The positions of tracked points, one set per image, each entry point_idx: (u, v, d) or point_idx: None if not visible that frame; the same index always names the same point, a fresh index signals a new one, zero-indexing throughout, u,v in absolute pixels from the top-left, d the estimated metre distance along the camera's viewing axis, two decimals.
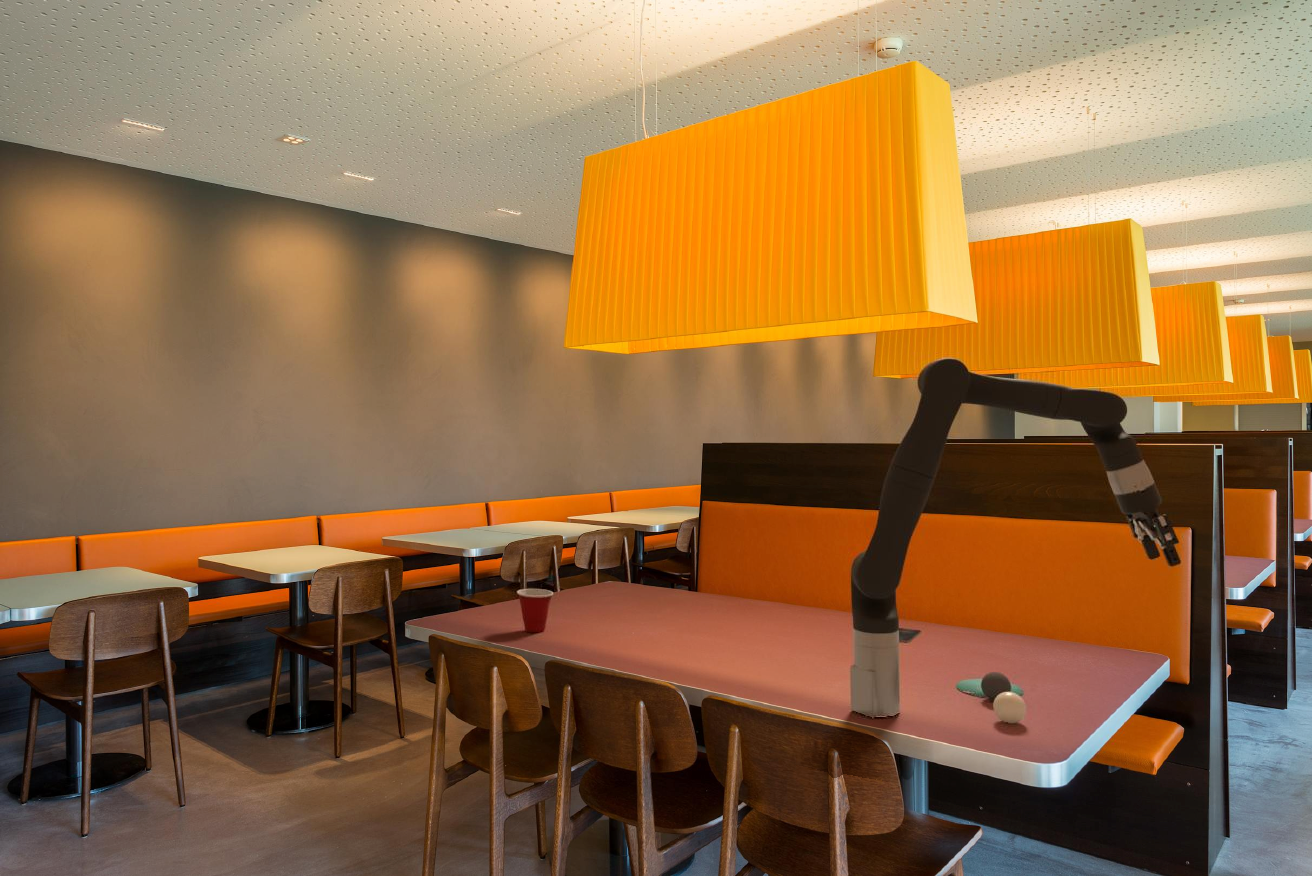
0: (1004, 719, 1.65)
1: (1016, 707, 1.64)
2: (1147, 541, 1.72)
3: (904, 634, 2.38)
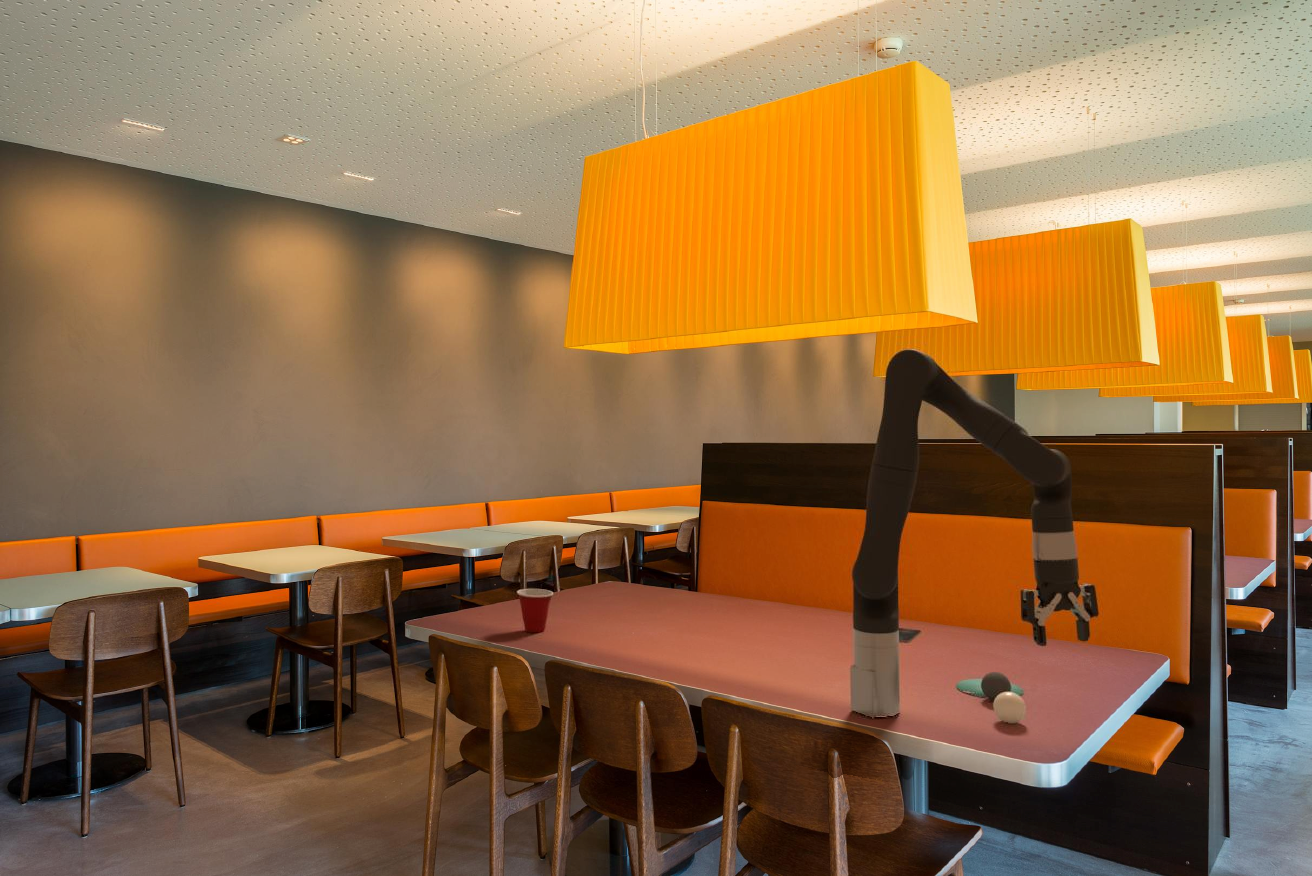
0: (1004, 719, 1.65)
1: (1016, 707, 1.64)
2: (1079, 620, 1.57)
3: (904, 634, 2.38)
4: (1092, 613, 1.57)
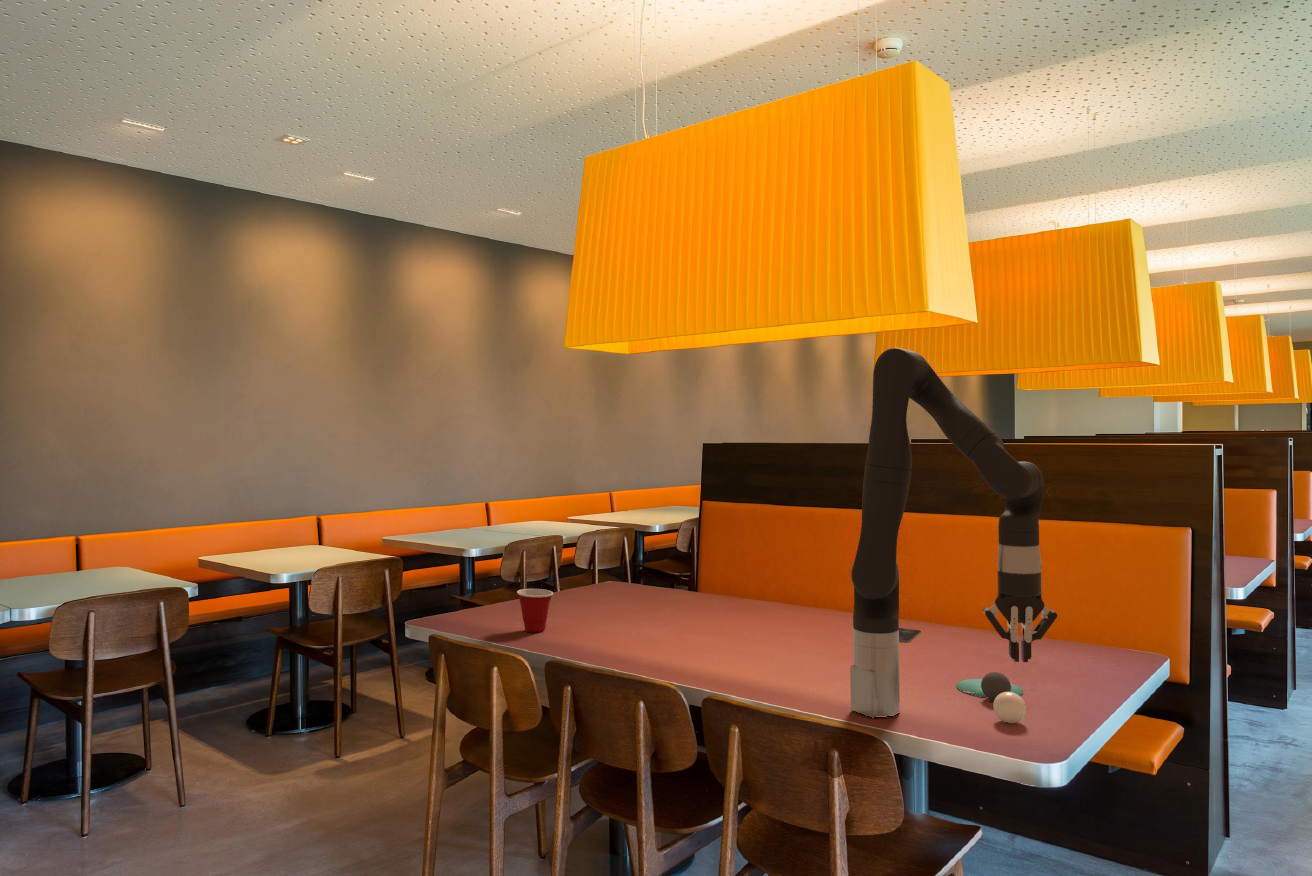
0: (1004, 719, 1.65)
1: (1016, 707, 1.64)
2: (1022, 641, 1.57)
3: (904, 634, 2.38)
4: (1035, 634, 1.55)
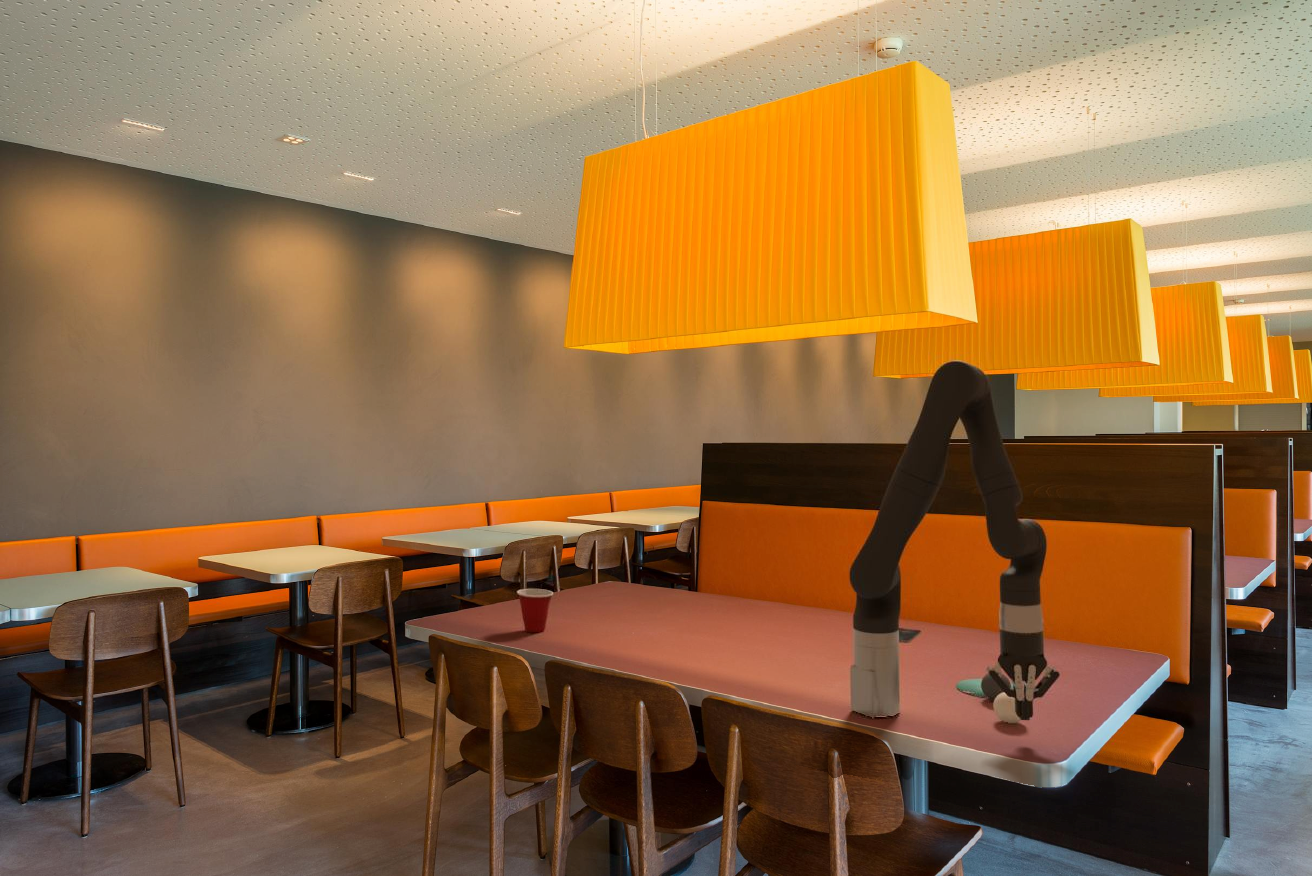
0: (1004, 719, 1.65)
1: None
2: (1024, 698, 1.57)
3: (904, 634, 2.38)
4: (1036, 692, 1.56)
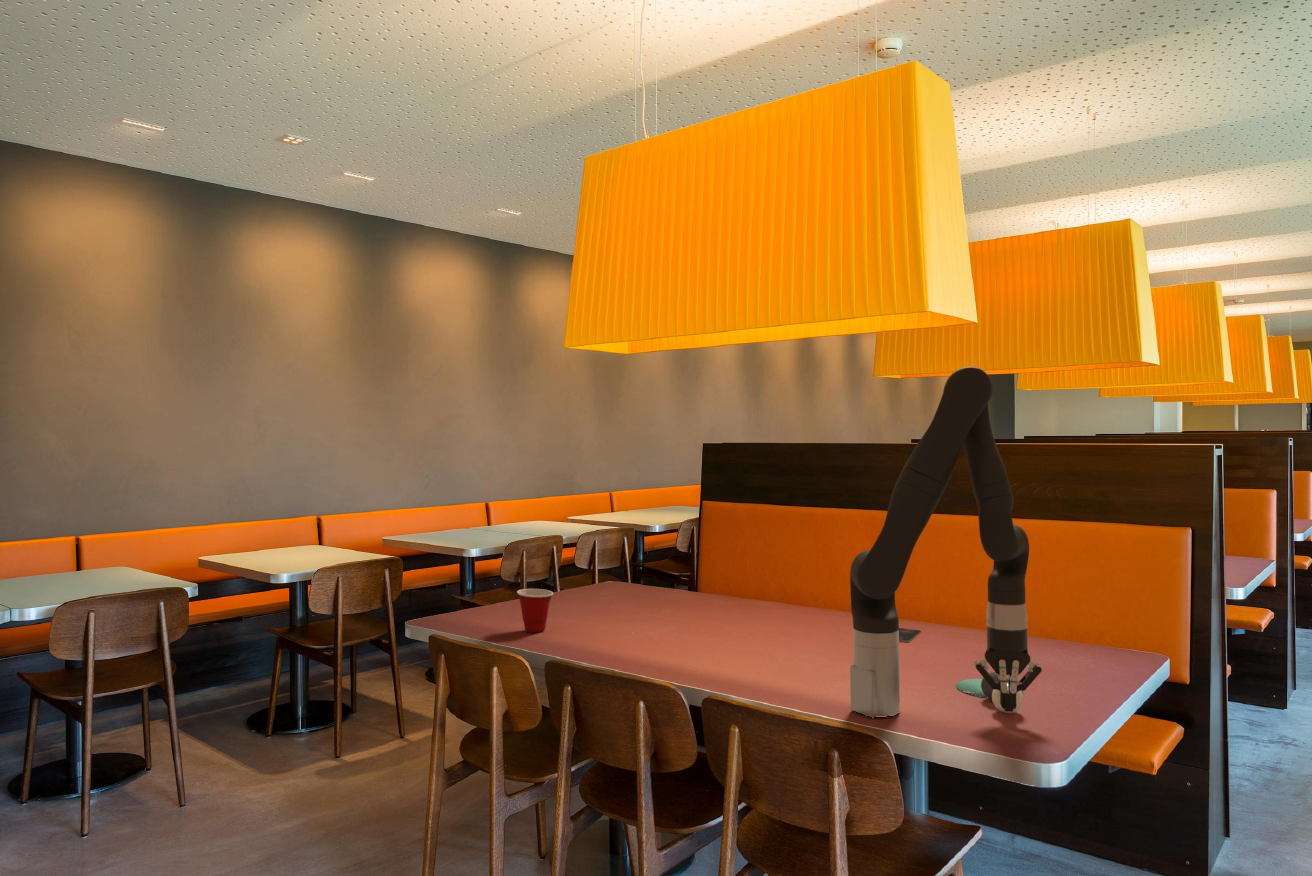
0: None
1: None
2: (1008, 691, 1.69)
3: (904, 634, 2.38)
4: (1020, 685, 1.67)
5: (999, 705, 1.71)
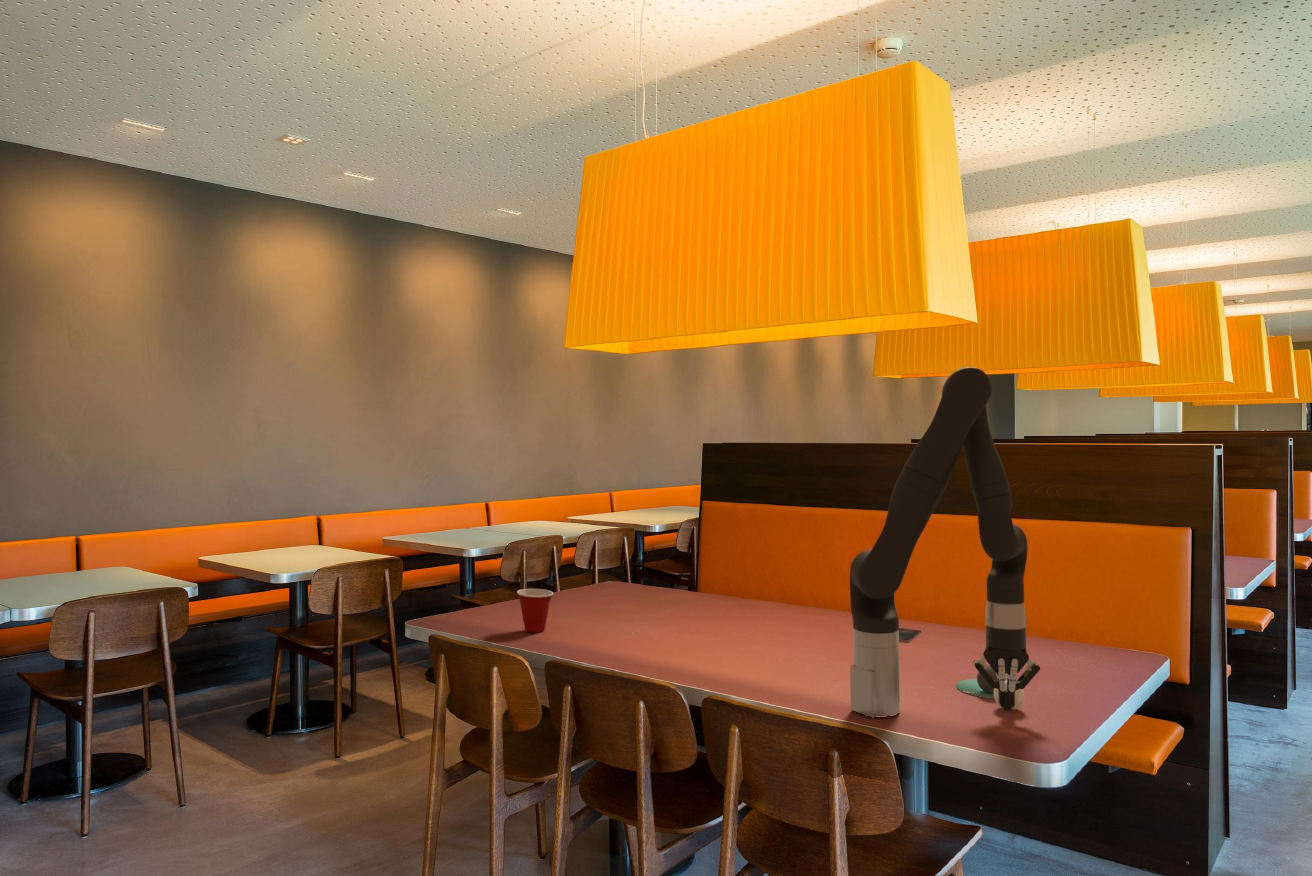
0: None
1: None
2: (1007, 690, 1.70)
3: (904, 634, 2.38)
4: (1018, 684, 1.68)
5: None
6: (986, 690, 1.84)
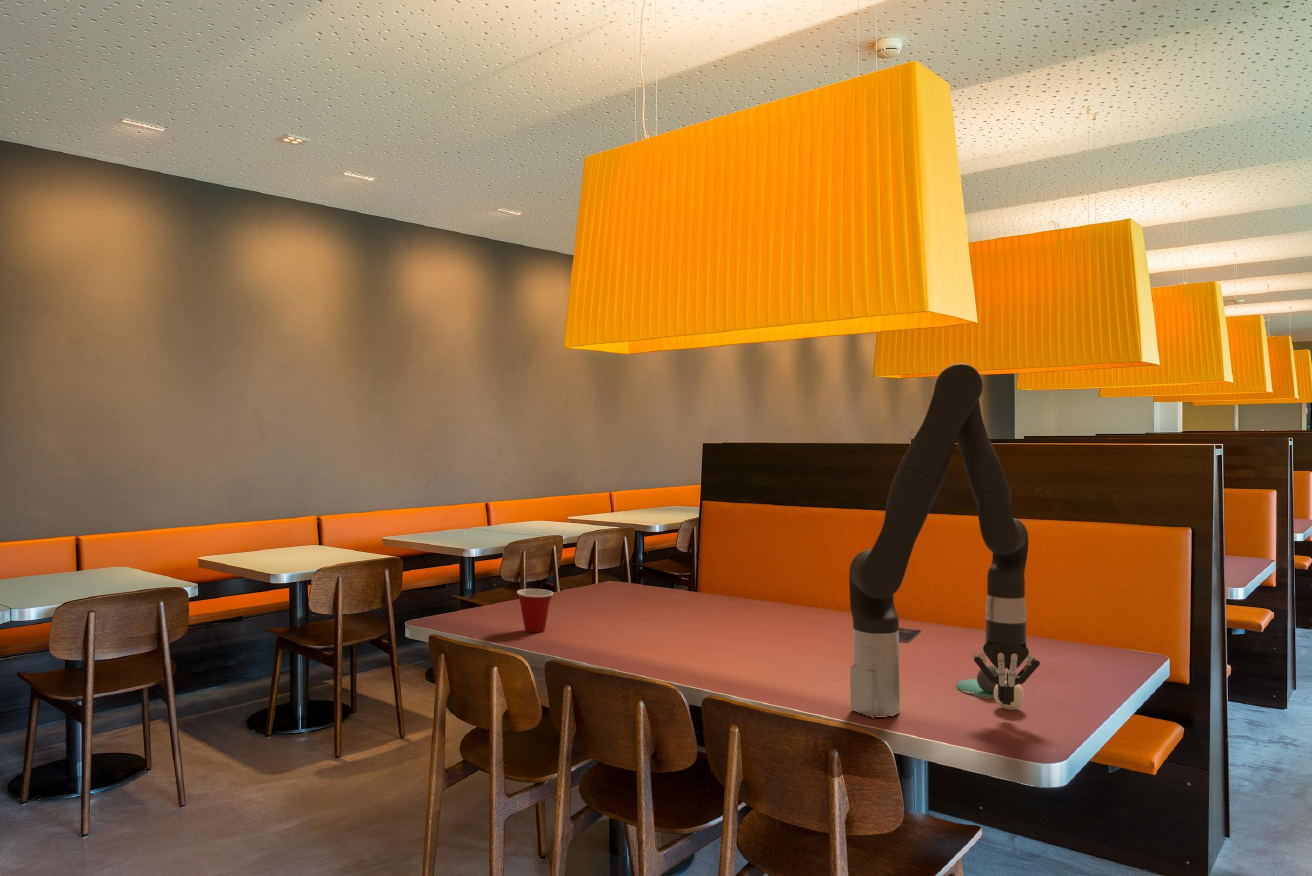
0: (1005, 680, 1.75)
1: None
2: (1006, 684, 1.69)
3: (904, 634, 2.38)
4: (1018, 678, 1.68)
5: None
6: (986, 690, 1.84)
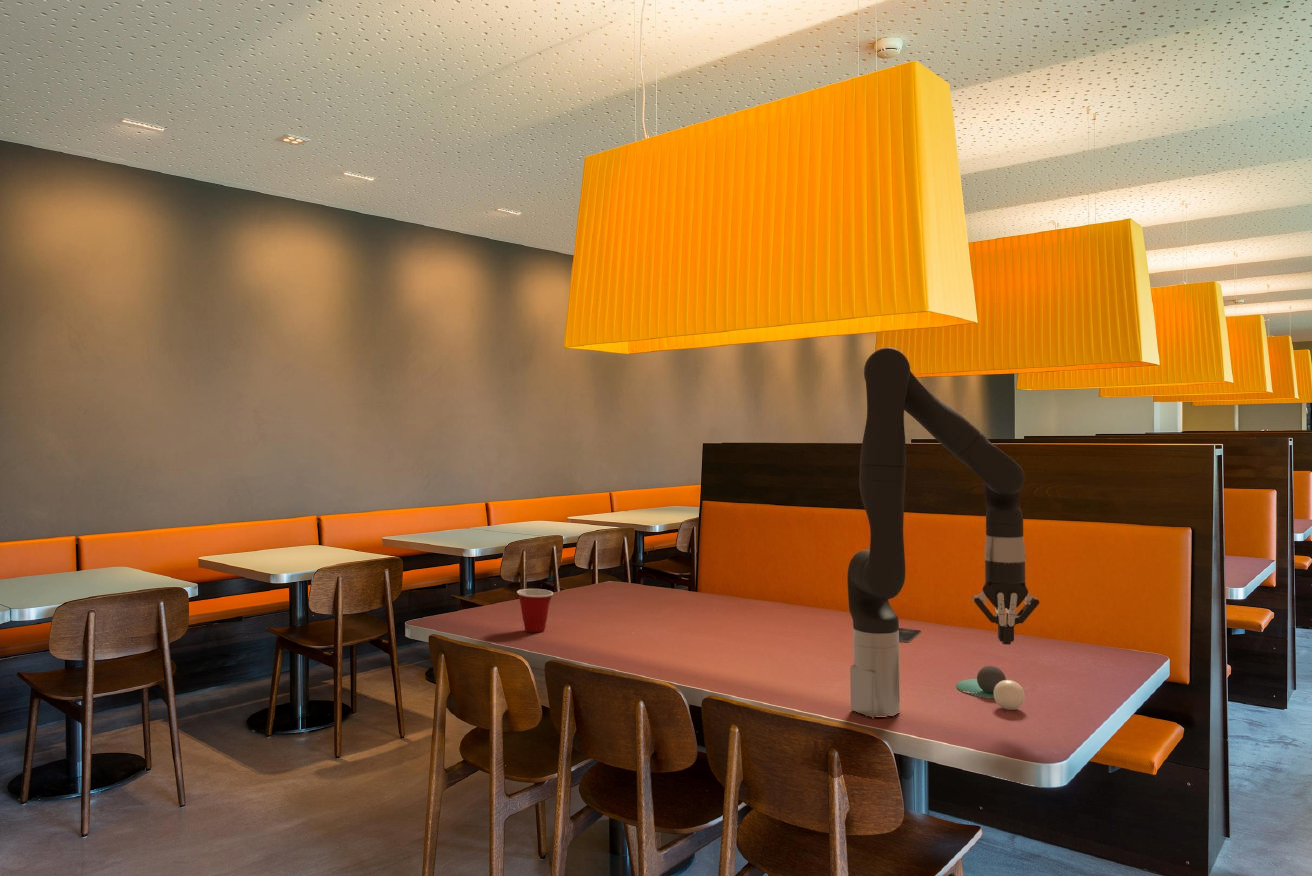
0: (1005, 680, 1.75)
1: None
2: (1006, 625, 1.70)
3: (904, 634, 2.38)
4: (1017, 618, 1.68)
5: (1001, 692, 1.73)
6: (986, 690, 1.84)
